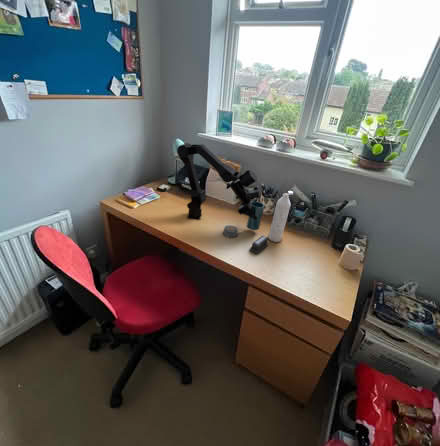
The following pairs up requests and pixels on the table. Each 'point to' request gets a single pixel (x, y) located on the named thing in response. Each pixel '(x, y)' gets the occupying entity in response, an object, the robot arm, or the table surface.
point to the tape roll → (230, 231)
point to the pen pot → (258, 212)
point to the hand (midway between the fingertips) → (257, 216)
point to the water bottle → (280, 217)
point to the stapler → (259, 244)
